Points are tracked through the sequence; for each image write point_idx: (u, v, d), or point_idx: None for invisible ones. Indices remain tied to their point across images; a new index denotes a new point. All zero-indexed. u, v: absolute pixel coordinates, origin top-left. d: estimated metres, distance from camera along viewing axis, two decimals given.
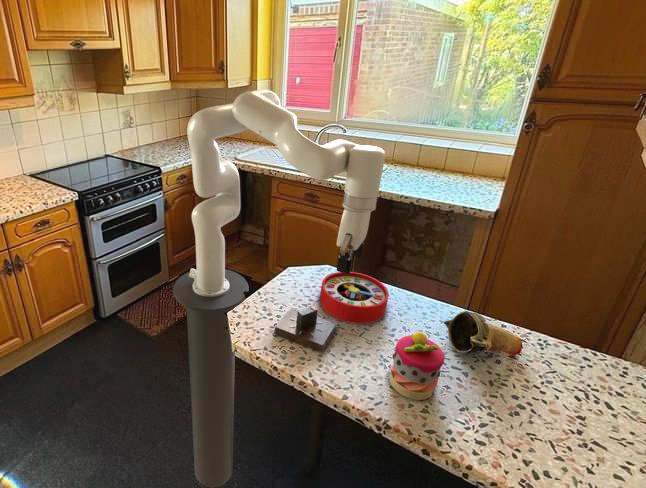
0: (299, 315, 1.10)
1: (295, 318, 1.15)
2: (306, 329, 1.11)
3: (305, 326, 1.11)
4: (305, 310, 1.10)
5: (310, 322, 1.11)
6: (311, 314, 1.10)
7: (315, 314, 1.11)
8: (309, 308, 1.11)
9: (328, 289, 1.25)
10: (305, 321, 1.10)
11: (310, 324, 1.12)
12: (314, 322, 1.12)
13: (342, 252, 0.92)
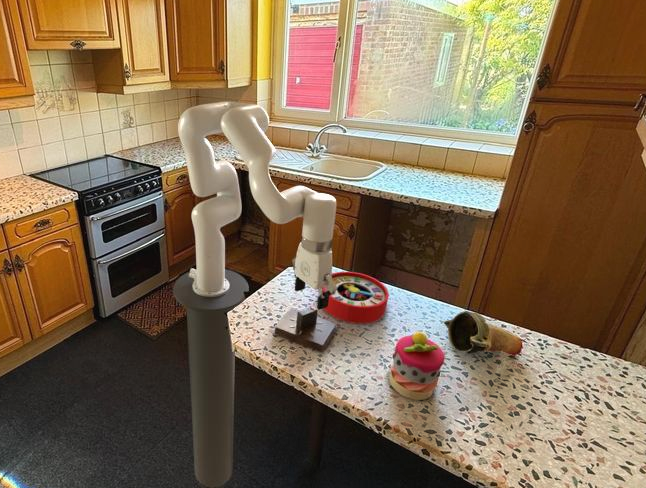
0: (299, 315, 1.10)
1: (295, 318, 1.15)
2: (306, 329, 1.11)
3: (305, 326, 1.11)
4: (305, 310, 1.10)
5: (310, 322, 1.11)
6: (311, 314, 1.10)
7: (315, 314, 1.11)
8: (309, 308, 1.11)
9: None
10: (305, 321, 1.10)
11: (310, 324, 1.12)
12: (314, 322, 1.12)
13: (333, 292, 0.99)
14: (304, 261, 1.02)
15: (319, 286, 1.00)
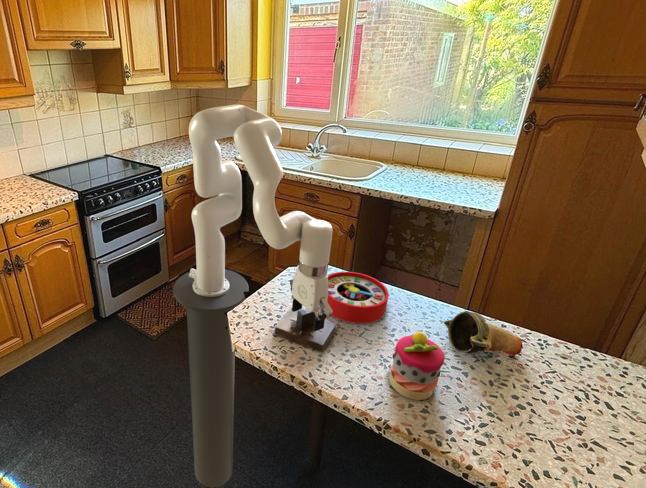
0: (299, 315, 1.10)
1: (295, 318, 1.15)
2: (306, 329, 1.11)
3: (305, 326, 1.11)
4: (305, 310, 1.10)
5: (310, 322, 1.11)
6: (311, 314, 1.10)
7: None
8: None
9: (328, 289, 1.25)
10: (305, 321, 1.10)
11: (310, 324, 1.12)
12: None
13: (329, 315, 1.02)
14: (301, 284, 1.06)
15: (315, 309, 1.04)
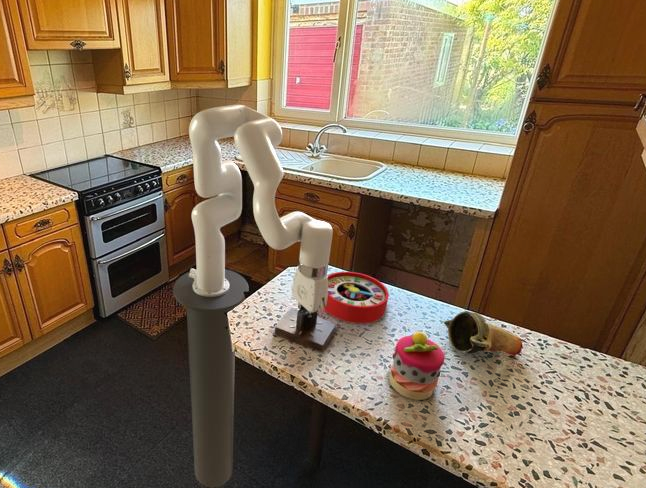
0: (299, 315, 1.10)
1: (295, 318, 1.15)
2: (306, 329, 1.11)
3: None
4: (305, 310, 1.10)
5: None
6: None
7: None
8: None
9: (328, 289, 1.25)
10: None
11: None
12: None
13: None
14: (301, 285, 1.06)
15: (315, 309, 1.04)
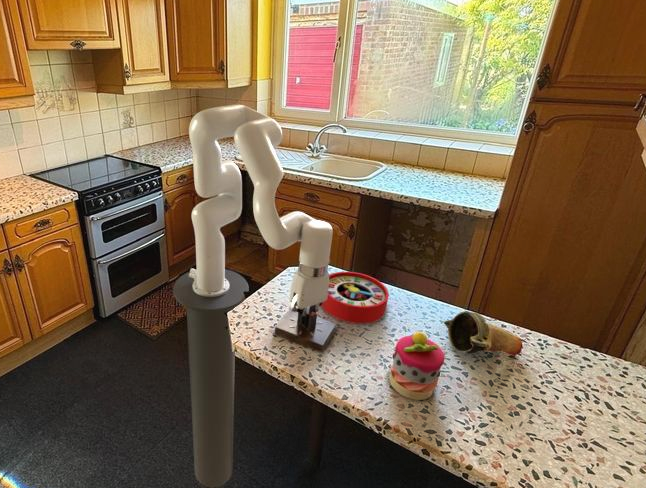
0: None
1: (295, 318, 1.15)
2: (306, 329, 1.11)
3: None
4: None
5: None
6: None
7: (308, 319, 1.09)
8: (311, 311, 1.10)
9: None
10: None
11: None
12: (307, 327, 1.10)
13: None
14: None
15: (290, 299, 1.08)
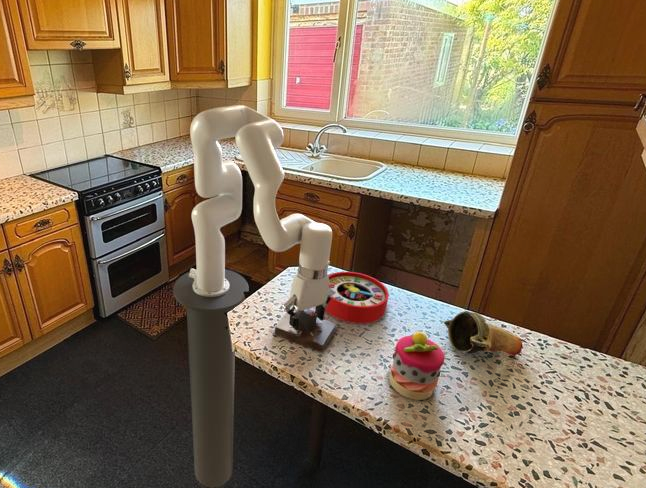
0: None
1: None
2: (306, 329, 1.11)
3: (300, 321, 1.13)
4: (306, 309, 1.11)
5: (304, 322, 1.11)
6: (305, 315, 1.10)
7: (308, 319, 1.09)
8: (311, 311, 1.10)
9: None
10: (301, 316, 1.12)
11: (304, 325, 1.11)
12: (307, 327, 1.10)
13: (285, 310, 1.06)
14: None
15: None
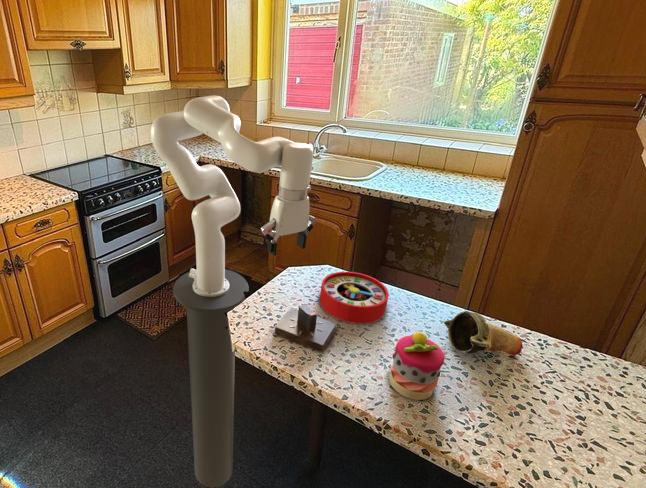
0: None
1: (295, 318, 1.15)
2: (306, 329, 1.11)
3: (300, 321, 1.13)
4: (306, 309, 1.11)
5: (304, 322, 1.11)
6: (305, 315, 1.10)
7: (308, 319, 1.09)
8: (311, 311, 1.10)
9: (328, 289, 1.25)
10: (301, 316, 1.12)
11: (304, 325, 1.11)
12: (307, 327, 1.10)
13: (263, 233, 1.04)
14: None
15: None
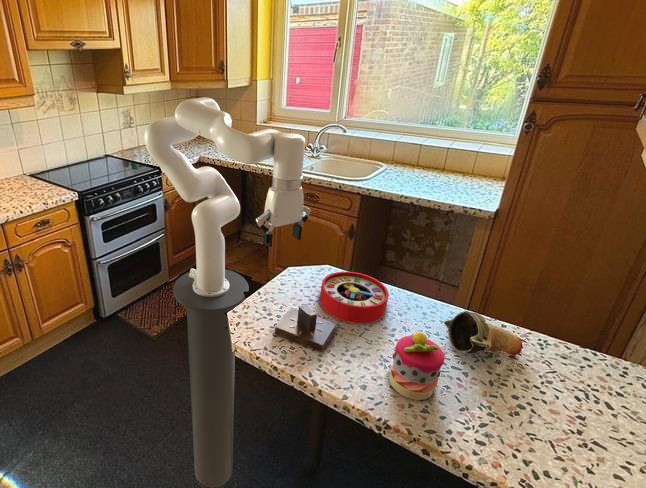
0: None
1: (295, 318, 1.15)
2: (306, 329, 1.11)
3: (300, 321, 1.13)
4: (306, 309, 1.11)
5: (304, 322, 1.11)
6: (305, 315, 1.10)
7: (308, 319, 1.09)
8: (311, 311, 1.10)
9: (328, 289, 1.25)
10: (301, 316, 1.12)
11: (304, 325, 1.11)
12: (307, 327, 1.10)
13: (258, 224, 1.05)
14: None
15: None
